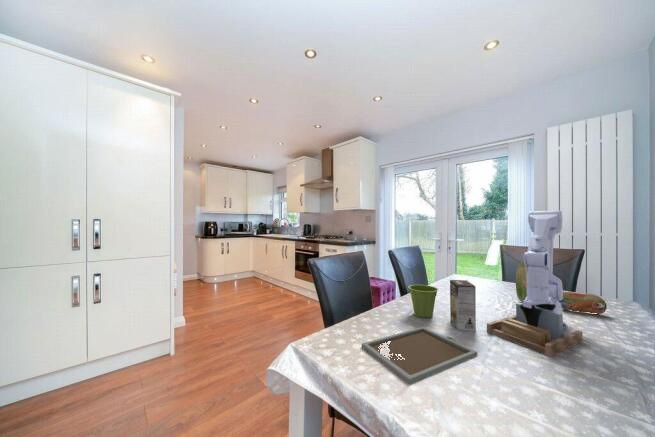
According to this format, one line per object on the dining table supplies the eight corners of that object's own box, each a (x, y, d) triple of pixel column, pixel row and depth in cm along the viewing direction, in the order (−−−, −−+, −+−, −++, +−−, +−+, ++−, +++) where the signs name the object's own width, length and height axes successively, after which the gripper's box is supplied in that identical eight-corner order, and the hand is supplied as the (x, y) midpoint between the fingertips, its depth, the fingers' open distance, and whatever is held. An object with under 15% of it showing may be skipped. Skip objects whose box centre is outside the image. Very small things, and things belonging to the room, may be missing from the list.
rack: (520, 321, 92) (519, 313, 92) (582, 341, 77) (582, 331, 77) (486, 331, 83) (486, 323, 83) (550, 356, 67) (550, 346, 67)
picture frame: (361, 343, 73) (428, 324, 86) (361, 348, 73) (428, 329, 86) (409, 379, 56) (483, 349, 69) (409, 386, 56) (483, 354, 69)
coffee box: (449, 319, 94) (449, 279, 94) (467, 321, 92) (466, 280, 93) (457, 329, 85) (456, 284, 85) (477, 331, 83) (476, 285, 84)
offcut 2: (510, 331, 84) (510, 318, 84) (550, 345, 74) (550, 331, 74) (507, 332, 83) (507, 319, 83) (547, 347, 73) (546, 332, 73)
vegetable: (536, 304, 112) (535, 262, 113) (525, 305, 111) (524, 262, 112) (523, 300, 118) (522, 260, 119) (513, 301, 117) (512, 260, 118)
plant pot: (440, 313, 101) (440, 286, 101) (436, 322, 91) (436, 293, 91) (411, 307, 107) (411, 283, 108) (405, 316, 97) (405, 288, 98)
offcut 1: (505, 333, 82) (504, 320, 82) (544, 348, 72) (544, 333, 73) (501, 334, 81) (501, 321, 82) (541, 349, 72) (541, 334, 72)
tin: (557, 309, 105) (557, 291, 106) (555, 307, 108) (555, 289, 108) (607, 316, 98) (606, 296, 98) (603, 314, 100) (603, 294, 101)
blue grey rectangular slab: (520, 327, 87) (519, 302, 88) (563, 341, 77) (562, 313, 77) (516, 328, 86) (515, 303, 87) (559, 342, 76) (558, 314, 76)
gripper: (541, 291, 75) (542, 334, 75) (562, 286, 82) (563, 326, 81) (515, 286, 82) (516, 325, 81) (537, 282, 88) (538, 318, 88)
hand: (538, 325), depth 82 cm, fingers open, 7 cm apart
